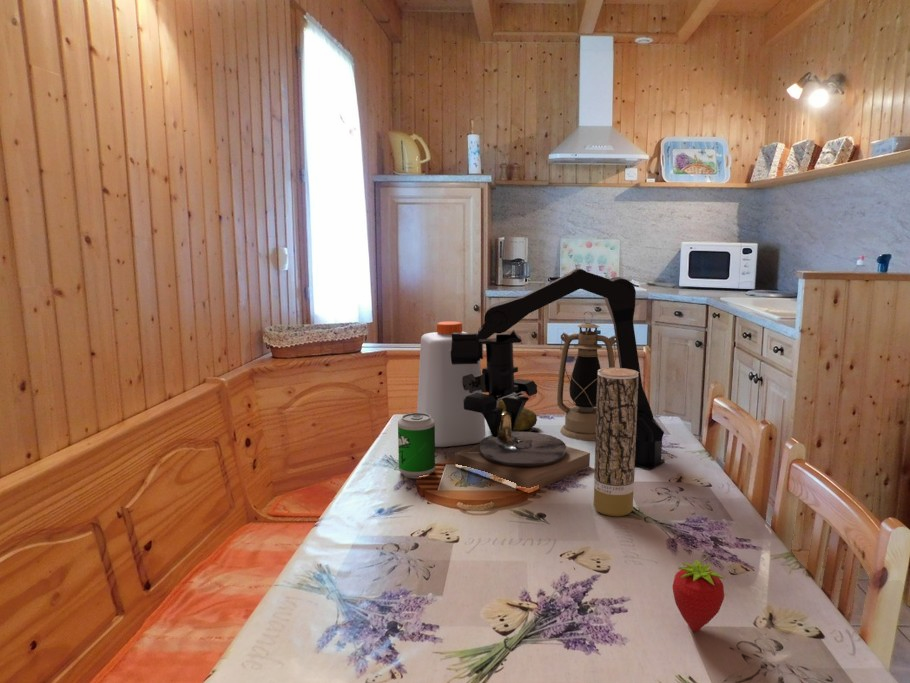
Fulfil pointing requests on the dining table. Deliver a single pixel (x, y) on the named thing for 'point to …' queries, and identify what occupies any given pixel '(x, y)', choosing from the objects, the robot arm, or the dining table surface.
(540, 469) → the wheel base
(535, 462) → the handwheel
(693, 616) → the strawberry
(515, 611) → the dining table surface
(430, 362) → the plastic bottle
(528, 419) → the potato
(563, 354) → the lantern
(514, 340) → the robot arm
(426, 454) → the soda can
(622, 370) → the paper tube
